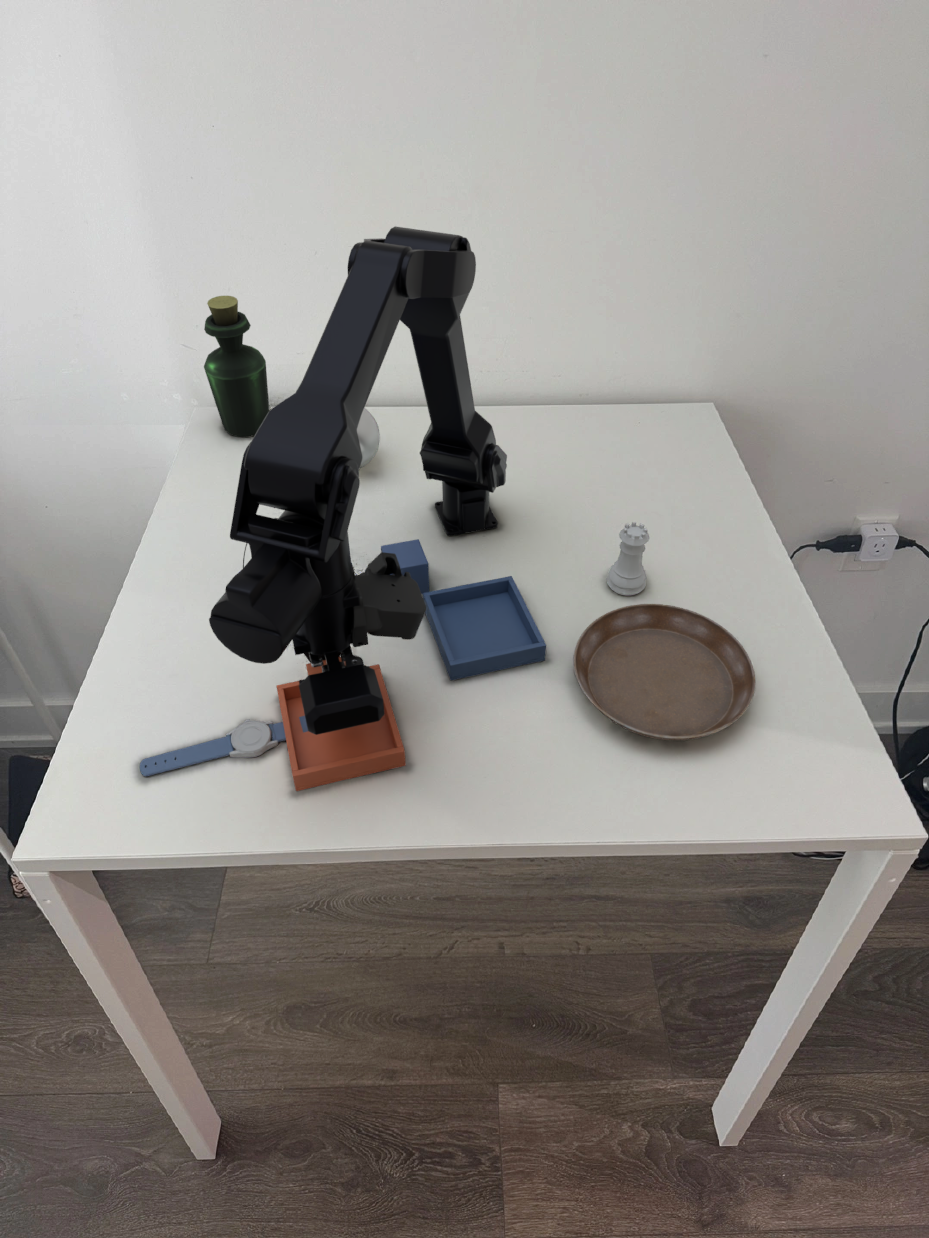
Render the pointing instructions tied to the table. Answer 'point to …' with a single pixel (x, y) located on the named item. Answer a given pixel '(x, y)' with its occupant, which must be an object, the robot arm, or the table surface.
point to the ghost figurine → (368, 436)
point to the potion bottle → (235, 370)
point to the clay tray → (339, 743)
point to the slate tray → (483, 627)
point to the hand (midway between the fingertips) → (336, 701)
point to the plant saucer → (664, 671)
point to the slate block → (411, 561)
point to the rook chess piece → (629, 561)
